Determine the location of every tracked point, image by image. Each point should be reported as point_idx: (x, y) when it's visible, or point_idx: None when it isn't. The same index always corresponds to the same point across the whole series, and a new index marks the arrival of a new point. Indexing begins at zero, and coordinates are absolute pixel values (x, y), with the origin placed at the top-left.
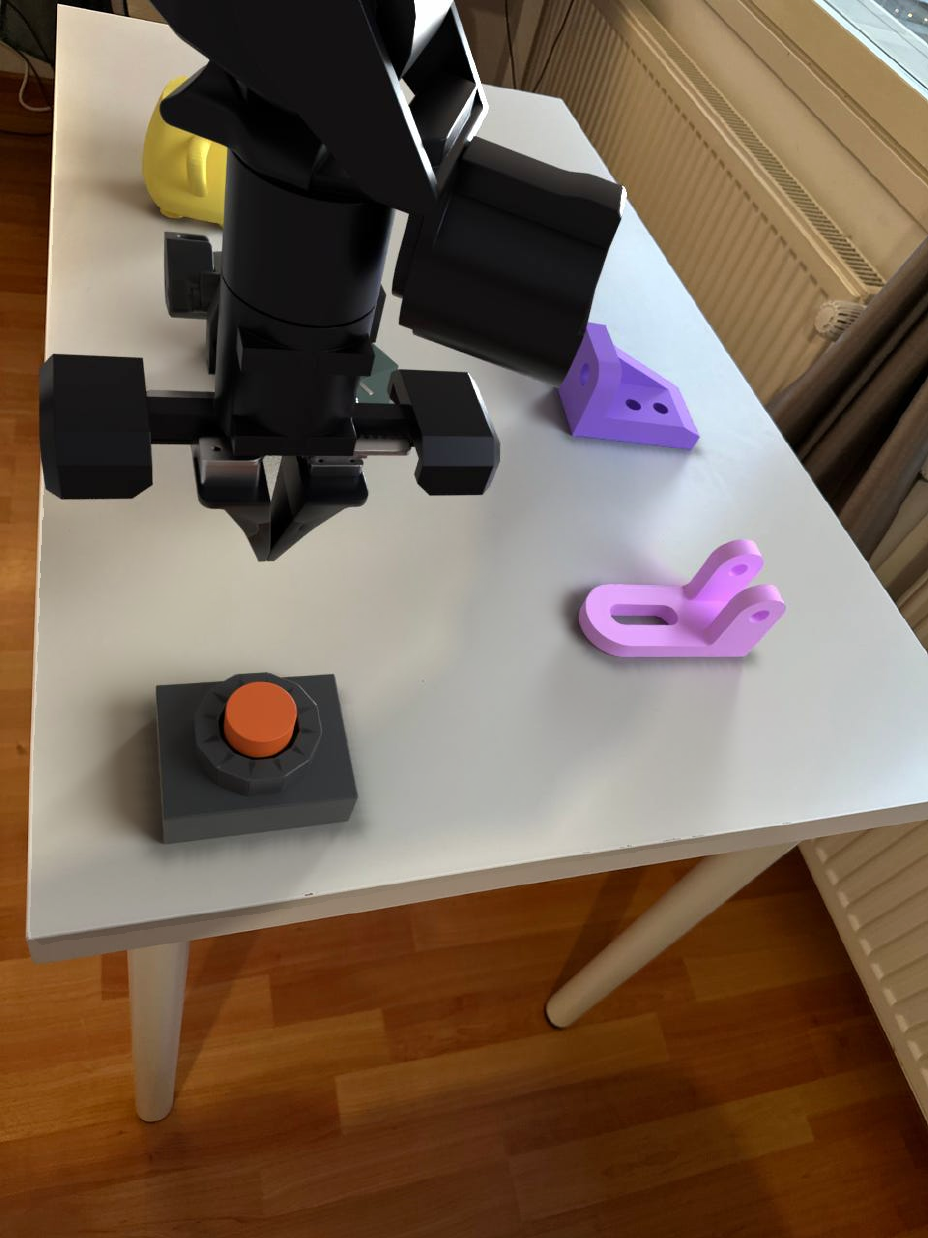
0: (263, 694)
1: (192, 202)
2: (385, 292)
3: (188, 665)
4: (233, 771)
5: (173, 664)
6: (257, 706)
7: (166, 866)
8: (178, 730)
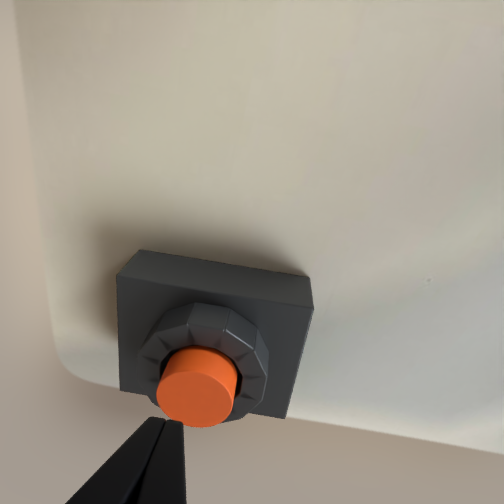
0: (200, 385)
1: None
2: None
3: (176, 200)
4: None
5: (161, 195)
6: (190, 395)
7: None
8: (135, 327)
